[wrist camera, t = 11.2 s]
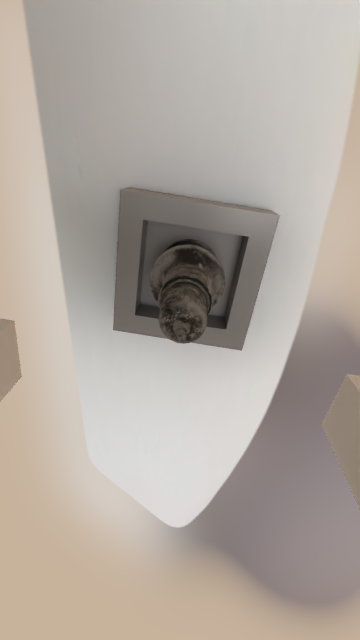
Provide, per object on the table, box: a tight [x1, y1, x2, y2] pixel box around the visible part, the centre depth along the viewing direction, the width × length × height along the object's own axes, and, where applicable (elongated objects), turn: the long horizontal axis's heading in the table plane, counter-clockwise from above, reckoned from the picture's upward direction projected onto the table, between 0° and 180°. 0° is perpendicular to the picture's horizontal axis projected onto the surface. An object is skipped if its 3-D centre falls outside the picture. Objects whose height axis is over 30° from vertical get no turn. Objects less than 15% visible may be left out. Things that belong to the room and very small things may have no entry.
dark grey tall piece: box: [150, 239, 226, 343], centre depth 21 cm, size 6×6×12 cm
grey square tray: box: [113, 188, 280, 350], centre depth 26 cm, size 12×12×3 cm
